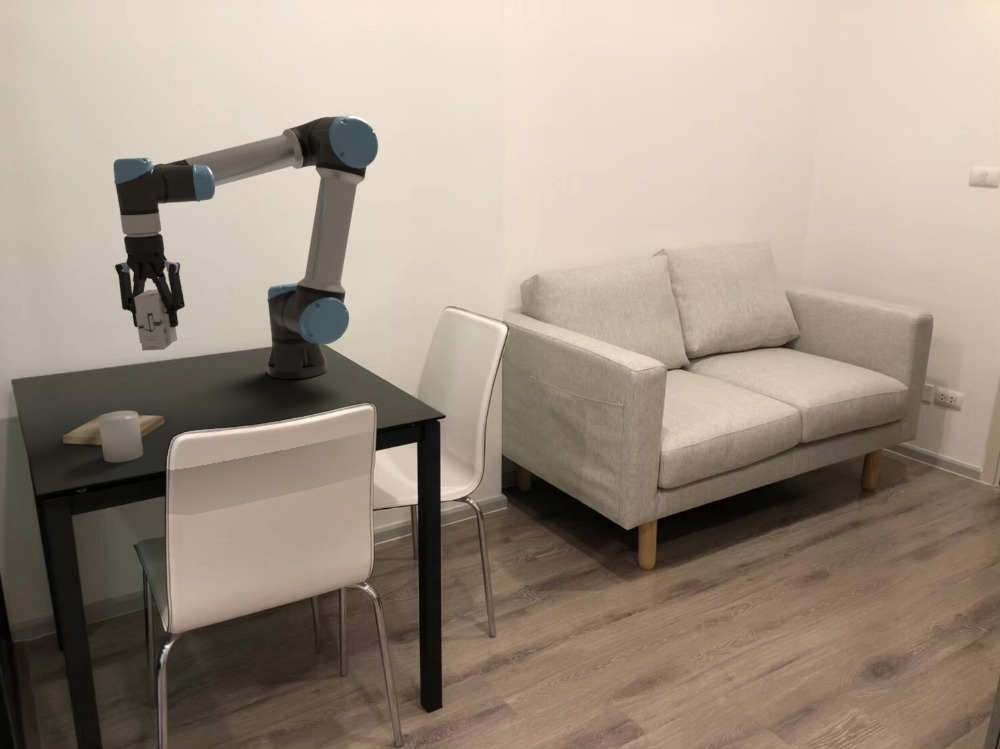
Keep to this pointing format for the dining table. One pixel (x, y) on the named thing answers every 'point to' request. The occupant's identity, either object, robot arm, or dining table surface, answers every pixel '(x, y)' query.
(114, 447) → the white frosted cylinder
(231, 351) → the dining table surface
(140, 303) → the ink box
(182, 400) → the dining table surface
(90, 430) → the birch board
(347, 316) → the robot arm
